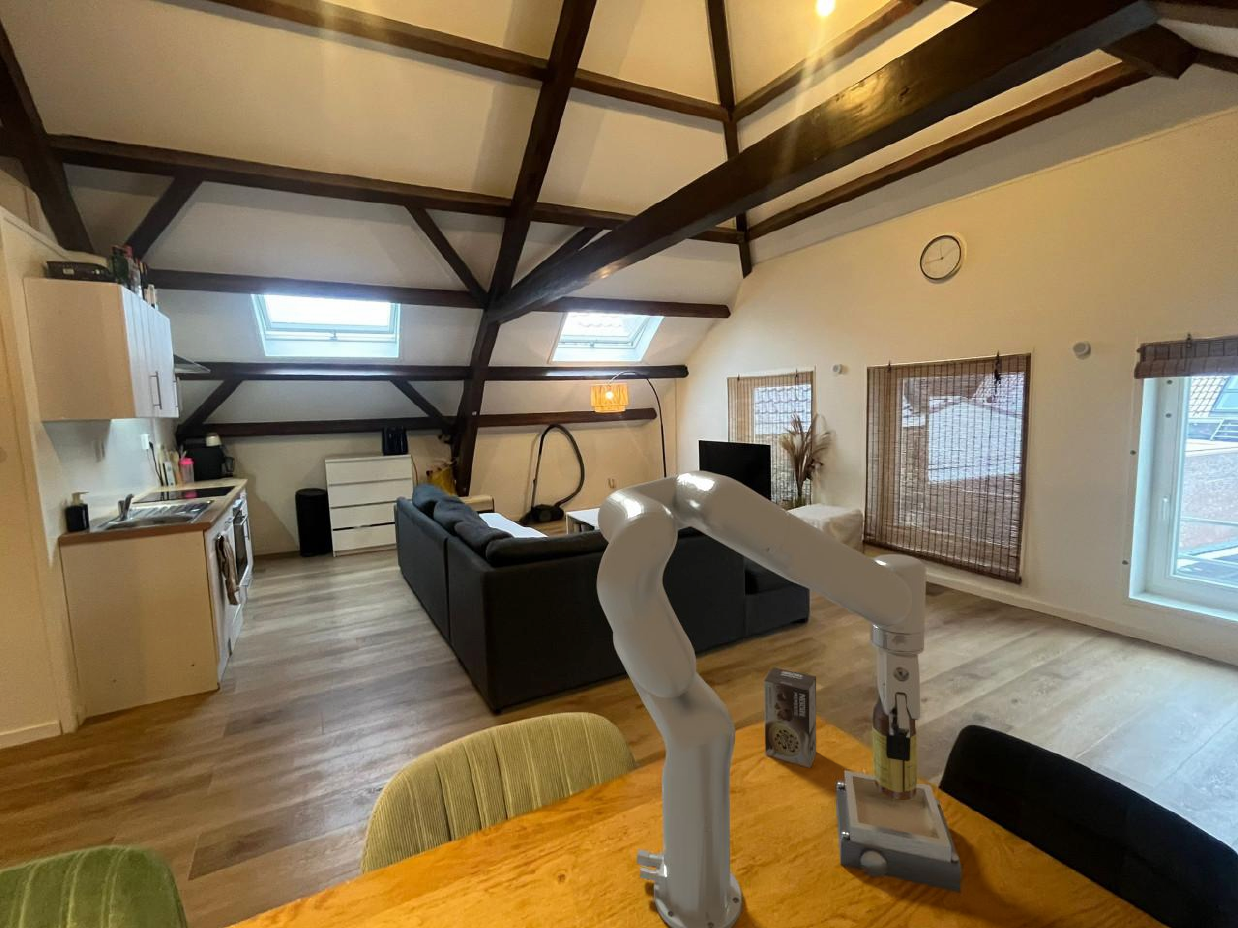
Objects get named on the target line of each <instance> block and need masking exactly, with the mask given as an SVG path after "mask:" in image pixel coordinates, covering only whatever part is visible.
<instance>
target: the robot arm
mask: <svg viewBox="0 0 1238 928" xmlns="http://www.w3.org/2000/svg"><path fill="white" fill-rule="evenodd" d="M597 523H598V524H597V525H598V528H599V531H600V534H602V536H603V538H604V539H605V541H607V543H608V545H607V547H606V549H605V551H604V553H603V554H602V557H601V560H600V563H599V568H598V572H597V578H596V593H597V597H598V601H599V604H600V606H601V608H602V610H603V612H604V615H605V617H606V619H607V621H608V624H609V625H610V627H611V630H612V632H613V633H612V639H613V641H612V642H613V646H614V649H615V651H616V654H617V656H618V658H619V660H620V661H621V663H622V665H623V667H624V669H625V671H626V673H627V675H628V676H629V678H630V681H631V682H632V684H633V686H634V688H635V689H636V692H637V693H638V695H639V697H640V699H641V701H642V703H643V705H644V706H645V708H646V710H647V712H648V713H649V715H650V717H651V718H652V719H653V722H654V724H655V725H656V728H657V730H658V731H659V733H660V735H661V737H662V739H663V741H664V742H663V743H664V745H665V753H666V754H665V760H664V763H663V768H662V774H661V798H662V802H661V803H662V840H663V843H662V844H663V845H662V847H663V848H662V849H663V852H662V851H659V852H658V853H657V854H656V853H654V852H651V851H649V850H645V849H641V848H639V849H638V851H637V855H636V864H637V865H639V866H641V868H640V870H639V871H640V872H639V877H640V879H643V880H651V881H654V882H653V883H654V884H653V900H654V904H655V907H656V909H657V912H658V913H659V915H660V917H661V918H662V920H663V921H664V922H665V923H666V924H667V925H668V926H669V927H671V928H732V927H734V925H735V924H736V922H737V921H738V919H739V917H740V915H741V912H742V906H743V905H742V903H743V902H742V901H743V900H742V899H743V896H742V888H741V886H740V884H739V881H738V880H737V878H736V875H734V873H733V872H732V871H731V809H730V808H731V805H730V804H731V802H730V801H731V797H730V793H731V791H730V788H731V787H730V785H731V783H730V779H731V765H732V759H733V754H734V749H735V746H736V745H735V743H736V728H735V727H736V726H735V723H734V721H733V718H732V715H731V713H730V711H729V710H728V707H727V706H726V705H725V703H724V701H722V699H721V698H720V697H719V696H718V695H717V693H716V692H715V691H714V690H713V689H712V688H711V686H710V685H709V684H708V683H707V682H705V680H704V678H702V676H701V675H700V674H699V673H698V672H697V657H696V654H695V649H694V647H693V645H692V642H691V640H690V639H689V637H688V635H687V633H686V632H685V631H684V629H683V626H682V625H681V623H680V621H679V619H678V617H677V615H676V613H675V611H674V609H673V607H672V604H671V603H670V600H669V598H668V595H667V594H666V590H665V588H664V584H663V576H664V571H665V568H666V566H667V563H668V562H669V559H670V557H671V556H672V554H673V552H674V550H675V549H676V548H675V547H676V544H677V541H678V532H679V531H680V530H682V529H686V528H688V527H691V528H694V529H696V530H698V531H700V532H701V533H703V534H704V535H707V536H708V537H711V538H712V539H714V540H715V541H717V542H718V543H721V544H723V545H725V546H726V547H728V548H729V549H732V550H733V551H735V552H737V553H739V554H741V555H742V556H744V557H746V558H748V559H749V560H751V561H753V562H755V563H756V564H758V565H759V566H761V567H763V568H765V569H766V570H769V571H770V572H773V573H775V574H776V575H777V576H780V577H782V578H784V579H785V580H788V581H790V582H793V583H794V584H797V585H800V586H801V587H804V588H807V589H809V590H811V591H813V592H815V593H817V594H820V595H821V596H823V597H824V598H825V599H827V600H828V601H830V602H831V603H832V604H835V605H837V606H839V607H840V608H843V609H845V610H846V611H848V612H850V613H853V614H855V615H856V616H858V617H860V618H862V619H864V620H866V621H867V622H869V643H870V644H871V646H873V647H874V648H875V649H876V652H877V653H876V677H877V679H876V680H877V689H878V693H879V695H880V697H881V702H882V706H883V710H884V712H885V714H886V715H888V727H889V731H886V756H887V757H888V758H891V759H897V760H903V761H909V760H910V738H911V736H910V725H909V712H910V715H911V717H912V719H915V721H919V720H920V719H921V687H920V686H921V682H920V679H921V678H920V664H919V654H922V653H923V652H924V651H925V632H926V630H925V627H926V626H925V625H926V592H927V591H926V586H927V571H926V567H925V564H924V563H923V562H922V560H920V559H918V558H916V557H914V556H910V555H904V554H894V553H892V554H890V553H889V554H881V555H878V556H876V557H869V556H867V555H865V554H863V553H862V552H860V551H859V550H856V549H854V548H852V547H851V546H849V545H847V544H846V543H844V542H841V541H839V540H838V539H836V538H834V537H833V536H831V535H829V534H828V533H826V532H824V531H823V530H821V529H819V528H818V527H816V526H814V525H812V524H810V523H808V522H806V521H804V519H803V520H802V519H801V518H799V517H798V516H796V515H794V514H792V513H791V512H790V511H788V510H786V509H784V508H783V507H781V506H779V505H778V504H776V503H774V502H772V501H771V500H769V499H768V498H766V497H765V496H763V495H761V494H759V493H758V492H756V491H755V490H753V489H752V488H750V487H748V486H747V485H745V484H743V482H740V481H738V480H736V479H734V478H732V477H729V476H727V475H722V474H718V473H714V472H711V471H706V470H691V471H686V472H681V473H677V474H674V475H669V476H667V477H663V478H658V479H655V480H652V481H651V480H650V481H647V482H643V483H639V484H635V485H631V486H627V487H623V488H621V489H618V490H616V491H614V492H612V493H610V494H609V495H607V497H606V498H605V499H604V500H603V501H602V503H601V505H600V506H599V509H598V513H597ZM900 672H901V673H900ZM892 709H896V711H897V713H892ZM893 718H897V724H894V725H893ZM650 867H651V868H654V869H656V870H654V869H651V868H650Z"/></svg>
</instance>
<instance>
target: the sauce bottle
mask: <svg viewBox="0 0 1238 928" xmlns="http://www.w3.org/2000/svg"><path fill="white" fill-rule="evenodd" d="M900 673H901V672H900ZM892 713H897V711H896V709H892ZM871 719H872V722H871V723H872V726H871V727H872V756H873V757H872V766H873V768H872V769H873V770H872V771H873V773H872V774H873V775H874V778H875V784H876V786H877V788H878V789H879V790H880V791H881V792H882V793H883V794H885V795H886V796H888V797H890V798H894V799H899V800H909V799H911V798H913V797H914V796H915V795H916V786H917V783H918V757H917V756H918V755H917V749H918V746H917V729H916V720H915V719H912V717H911V715H910V712H909V725H910V736H911V738H910V760H909V761H903V760H897V759H891V758H888V757H887V756H886V731H889V727H888V715H886V714H885V712H884V710H883V706H882V702H881V697H880V695H879V696H878V699H877V701H876V703H875V705H874V707H873V713H872V718H871ZM894 724H897V718H893V725H894Z"/></svg>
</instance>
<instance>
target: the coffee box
mask: <svg viewBox="0 0 1238 928" xmlns="http://www.w3.org/2000/svg"><path fill="white" fill-rule="evenodd" d="M763 688H764V689H763V692H764V743H765V744H764V745H765V746H764V754H765V755H766V756H770V757H773V758H776V759H779V760H783V761H786V762H789V763H792V764H795V765H798V766H801V767H805V768H808V769H810V768H811V766H812V764H813V761H814V760H815V757H816V754H817V676H815V675H810V674H807V673H806V674H805V673H802V672H797V671H792V670H788V669H783V668H778V667H772V668H771V669H770V671H769V673H768V674H767V675H766V676H765V678H764V680H763Z"/></svg>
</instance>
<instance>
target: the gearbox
mask: <svg viewBox="0 0 1238 928" xmlns="http://www.w3.org/2000/svg"><path fill="white" fill-rule="evenodd" d="M843 772H844V773H843V775H844V776H843V777H844V778H843V779H844V780H843V781H842V780H835V781H836V782H835V808H836V818H837V820H836V821H837V833H838V834H837V835H838V847H839V859H840V866H844V867H848V868H852V869H856V870H861V871H864V872H865V873H866V874H867V875H868V876H870V877H873V878H880V877H883V876H888V877H891V878H895V879H899V880H904V881H908V882H913V883H917V884H921V885H925V886H931V887H934V888H939V889H943V890H948V891H952V892H957V893H960V894H961V891H962V889H961V887H962V864H961V862H960V856H959V855H958V853H957V850H956V847H955V844H954V842H953V838H952V835H951V832H950V829H949V826H948V823H947V820H946V817H945V814H944V811H943V809H942V804H941V801H940V799H939V798H935V793H934V792H933V789H932V786H931V784H925V783H918V782H917V786H916V795H915V796H914V797H913V798H911V799H909V800H899V799H894V798H890V797H888V796H886V795H885V794H883V793H882V792H881V791H880V790H879V789H878V788H877V786H876V784H875V778H874V774H873V775H872V774H867V773H861V772H856V771H852V770H844V771H843Z"/></svg>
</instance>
